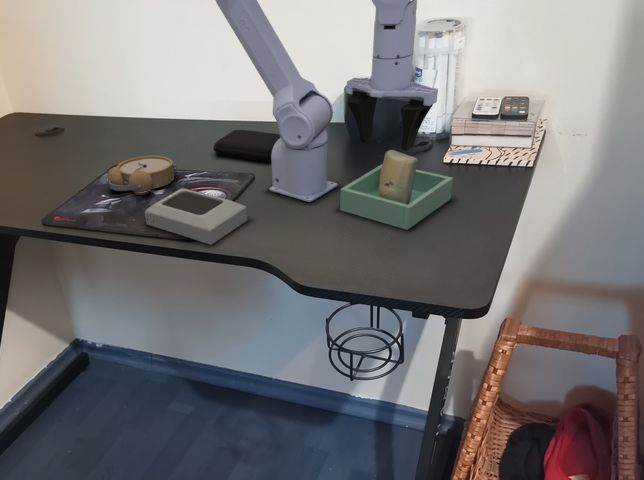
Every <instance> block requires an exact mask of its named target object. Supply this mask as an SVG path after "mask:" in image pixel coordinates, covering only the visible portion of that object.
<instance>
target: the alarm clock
mask: <svg viewBox="0 0 644 480" xmlns="http://www.w3.org/2000/svg"><path fill="white" fill-rule="evenodd" d="M177 167H178V164H176V163H175V164H174V161H173V159H172V158H170V157H167V156H163V155H143V156H136V157H132V158H129V159H126V160H123V161H121V162H119V163H118V164H117V166H114V167H111V169H109V171H108V174H107V180H105V183H107V184H109V189H111V190H113V191H115V192H127V191H131V192H132V191H133V192H132V193H134V192H144V191H148V192H145V193H134V195H138V196H145V195H147V194H149V193H150V192H151V191H152V190H153V189H158V188H161V187H164V186H166V185H169V184H170V183H172V182H173V181H174V180H175V173H174V172H175V171H174V168H177ZM171 177H172V178H171ZM170 178H171V179H170ZM169 179H170V180H169ZM168 180H169V181H168ZM166 181H167V182H166ZM164 182H165V183H164ZM162 183H163V184H162ZM159 184H161V185H159ZM155 185H158V186H156V187H153V186H155ZM149 190H150V191H149Z"/></svg>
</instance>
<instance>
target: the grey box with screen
mask: <svg viewBox="0 0 644 480" xmlns="http://www.w3.org/2000/svg"><path fill="white" fill-rule="evenodd" d="M144 218H145V224H146V225H148V226H151V227H154V228H158V229H161V230H163V231H166V232H168V233H169V232H170V233H173V234H176V235H179V236H182V237H185V238H189V239H192V240H194V241H198V242H201V243H204V244H208V245H211V246H212V245H213V244H215V243H216V242H218V241H219V240H220V239H222V238H224V237H225V236H226V235H228V234H229V233H231V232H232V231H234V230H235V229H237V228H238V227H240V226H242V225H243V224H244V223H246V222H247V221H248V212H247V206H246V205H243V204H241V203H238V202H236V201H233V200H231V199H226V198H222V197H218V196H215V195H211V194H207V193H204V192H199V191H195V190H192V189H188V188H184V187H181V188H179V189H177V190H176V191H174V192H172V193H171V194H169V195H167V196H166V197H163V198H162V199H160V200H159V201H157V202H155V203H154V204H151V206H149V207H148V208H146V210H145V211H144ZM147 219H148V220H147ZM153 221H154V222H153Z"/></svg>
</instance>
